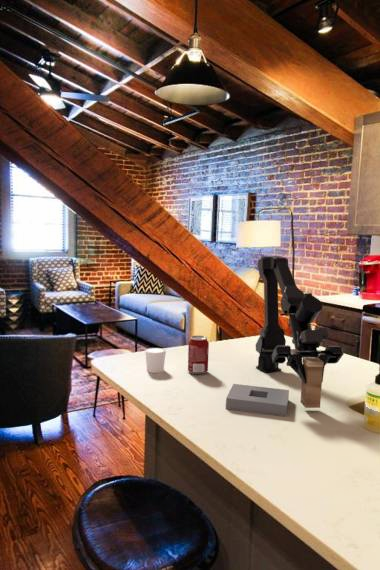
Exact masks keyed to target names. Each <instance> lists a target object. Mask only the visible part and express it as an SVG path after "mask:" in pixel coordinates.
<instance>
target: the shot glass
mask: <svg viewBox="0 0 380 570" xmlns="http://www.w3.org/2000/svg"><path fill="white" fill-rule="evenodd" d="M166 352H167V351H166V349H164V348H160V347H149V348H146V349H145V363H146V371H147V372H148V373H152V374H159V373H162V372H164V369H165V362H166V361H165V360H166Z"/></svg>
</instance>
